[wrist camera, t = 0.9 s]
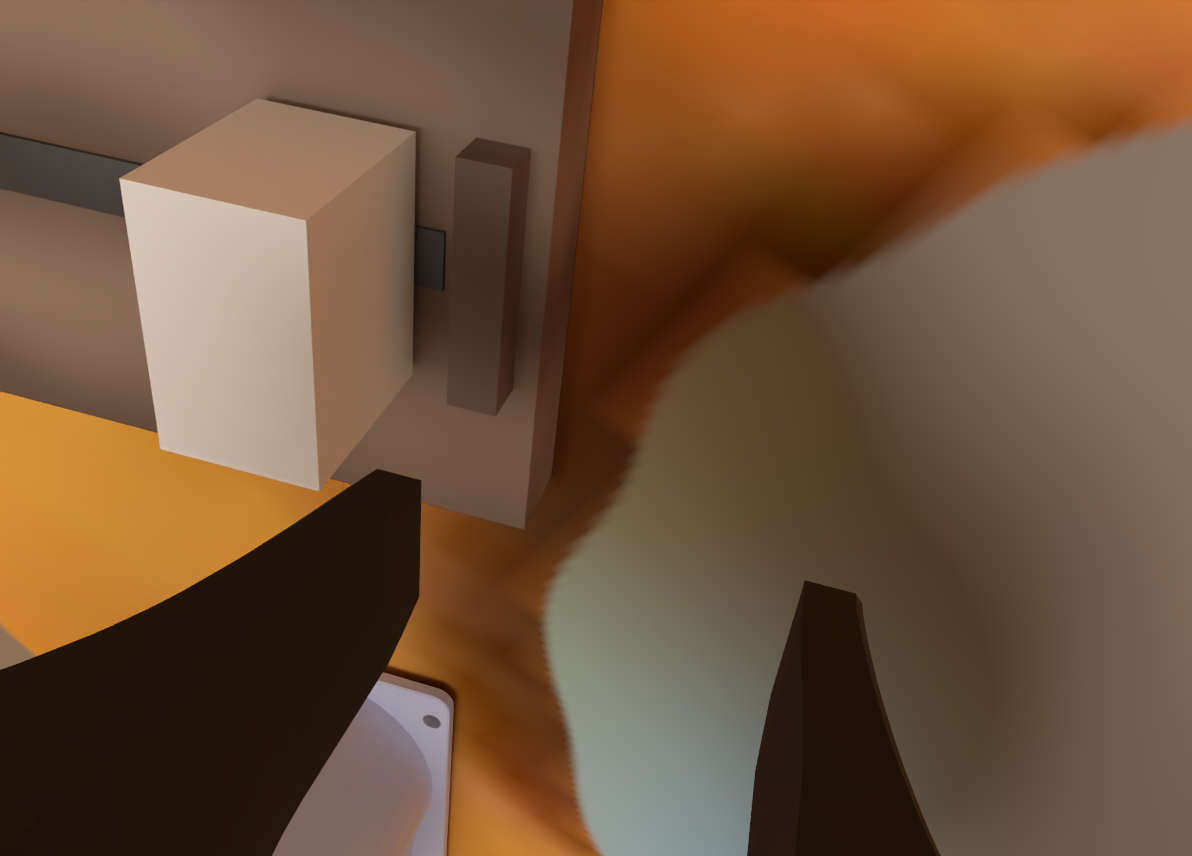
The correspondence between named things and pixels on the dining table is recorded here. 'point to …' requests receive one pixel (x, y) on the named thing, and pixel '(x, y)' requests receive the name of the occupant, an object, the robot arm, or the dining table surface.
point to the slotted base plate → (336, 86)
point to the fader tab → (275, 286)
